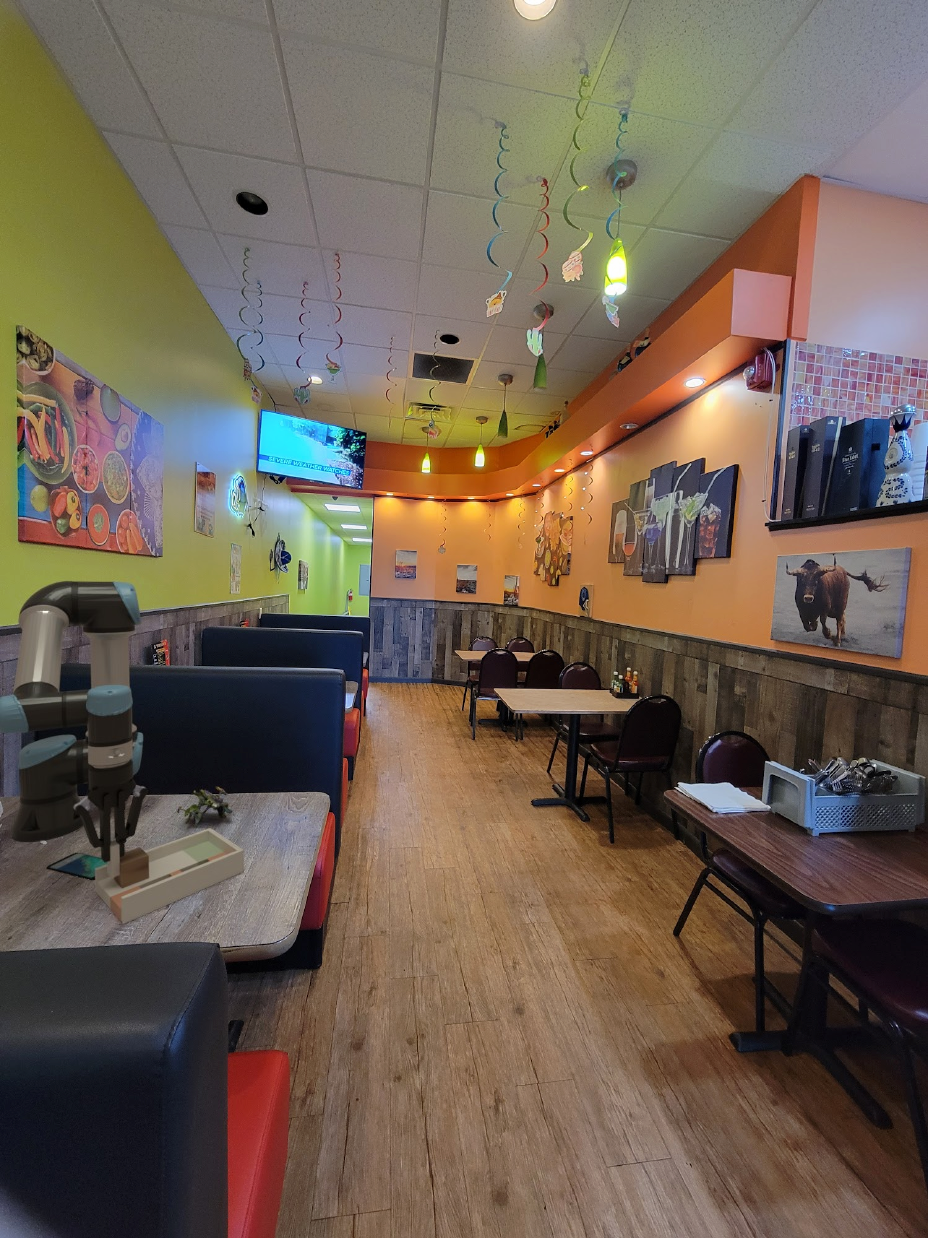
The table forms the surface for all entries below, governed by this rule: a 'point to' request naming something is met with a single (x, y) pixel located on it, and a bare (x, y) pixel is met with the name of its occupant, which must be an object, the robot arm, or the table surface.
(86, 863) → the smartphone
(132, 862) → the walnut block
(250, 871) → the table surface
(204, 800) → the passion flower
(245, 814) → the table surface
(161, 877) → the tray
